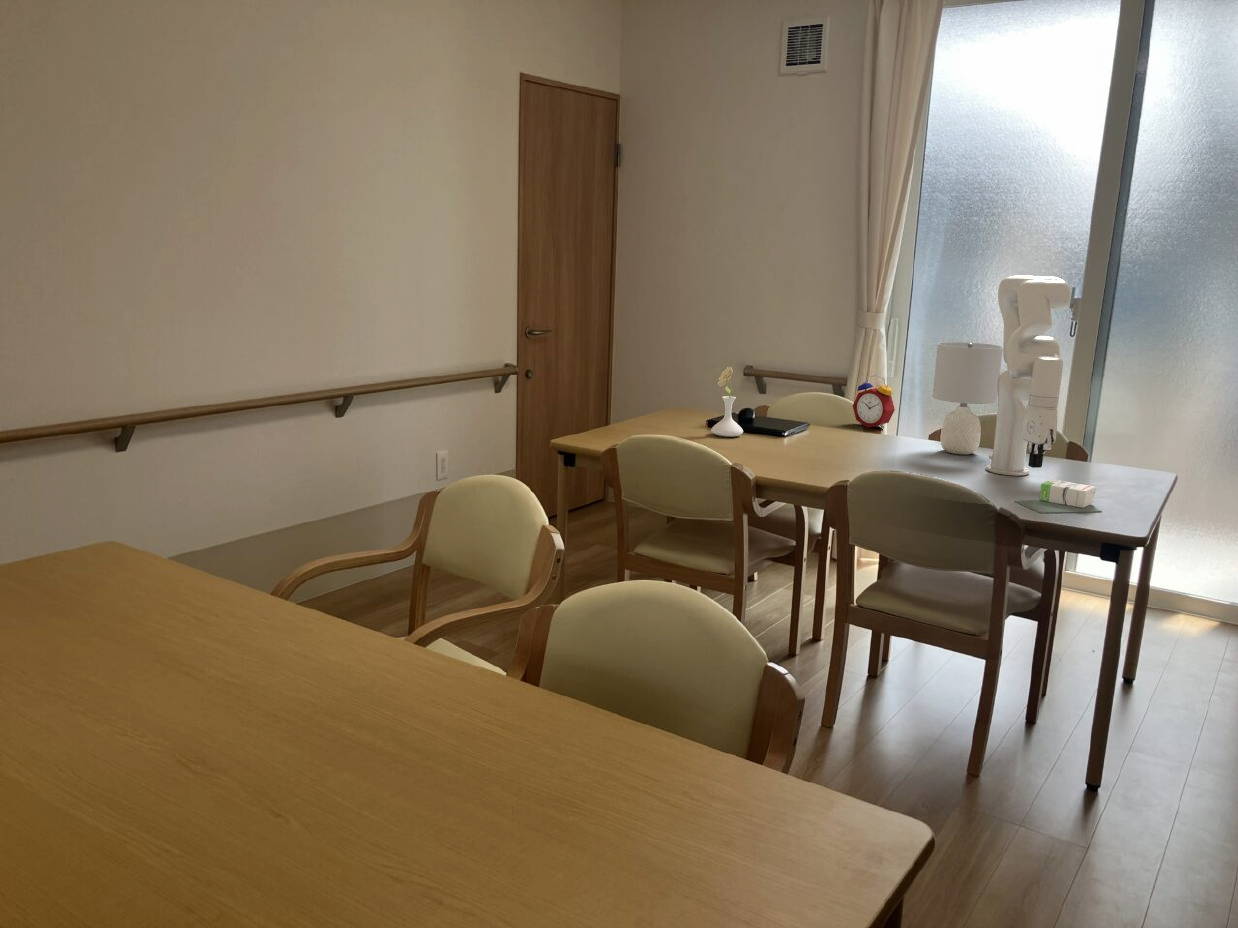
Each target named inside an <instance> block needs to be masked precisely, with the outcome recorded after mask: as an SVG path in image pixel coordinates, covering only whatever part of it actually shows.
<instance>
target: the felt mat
mask: <svg viewBox="0 0 1238 928" xmlns="http://www.w3.org/2000/svg"><path fill="white" fill-rule="evenodd" d="M1013 502H1014V503H1016V504H1019V505H1021V506H1023V507H1025V508H1028V509H1029V510H1032V511H1034V512H1036V513H1038V514H1064V513H1065V514H1068V513H1069V514H1074V513H1076V514H1077V513H1078V514H1079V513H1080V514H1081V513H1102V512H1103V511H1102V510H1100V509H1098V508H1096V507H1093V506H1091V505H1088V506H1086V507H1084V508H1080V507H1074V506H1069V505H1063V504H1057V503H1052V502H1046V501H1041V500H1039V499H1030V500H1029V499H1025V500H1023V499H1022V500H1021V499H1020V500H1013Z"/></svg>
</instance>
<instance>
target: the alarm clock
mask: <svg viewBox="0 0 1238 928" xmlns="http://www.w3.org/2000/svg"><path fill="white" fill-rule="evenodd" d="M866 377H867V378H866V381H862V384H860V385H858V387H857V391H859V392H857V395H856V398H855V399H854V402H853V403H852V408H853V413H854V417H855V420H856V422H858V423H860V424H859V425H860V426H864V427H866V428H868V429H869V428H873V427H874V428H875V427H878V426H880V428H881V429H882V430H884V429H885V427H884V425H885V424H889V423H890V421H891V419H892V417H893V414H894V413H895V410H896V408H895V405H894V402H893V398H892V395H893V394H894V393H893V389H892V388H891V387H889V384H886V379H885V378H884V377H882V376H880V375H878V374H873V375H869V376H866ZM872 377H878V378H880V379H882V380H883V384H881V385H880V384H879V383H876V387H875V388H873V387H874V385H873V384H872V383H871V382H870V383H869V382H868V381H869V378H872Z"/></svg>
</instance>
